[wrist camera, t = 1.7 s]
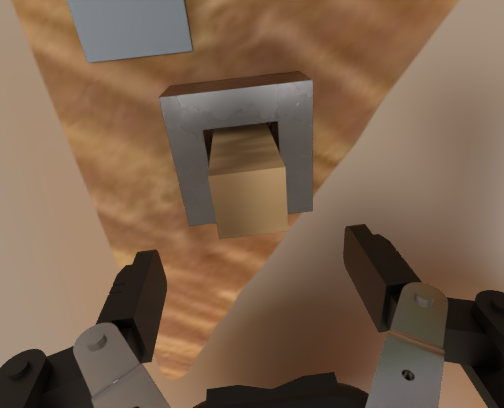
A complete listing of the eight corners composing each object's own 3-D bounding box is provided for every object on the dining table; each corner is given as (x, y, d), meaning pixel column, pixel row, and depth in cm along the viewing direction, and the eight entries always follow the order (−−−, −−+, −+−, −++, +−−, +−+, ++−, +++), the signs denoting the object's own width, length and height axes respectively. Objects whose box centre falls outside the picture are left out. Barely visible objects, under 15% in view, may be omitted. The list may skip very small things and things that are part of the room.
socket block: (298, 71, 24) (312, 79, 20) (300, 186, 29) (312, 211, 25) (169, 86, 24) (158, 97, 20) (194, 199, 29) (189, 226, 25)
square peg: (263, 114, 25) (285, 166, 16) (266, 160, 27) (288, 230, 18) (214, 120, 25) (207, 176, 16) (221, 165, 27) (219, 239, 18)
